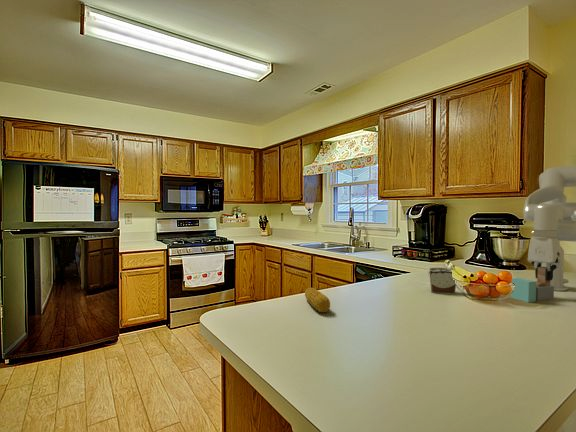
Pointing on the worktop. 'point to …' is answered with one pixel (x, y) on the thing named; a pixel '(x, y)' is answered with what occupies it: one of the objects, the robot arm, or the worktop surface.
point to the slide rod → (542, 277)
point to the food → (317, 300)
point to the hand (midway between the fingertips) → (543, 278)
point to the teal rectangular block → (524, 290)
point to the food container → (442, 281)
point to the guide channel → (544, 293)
